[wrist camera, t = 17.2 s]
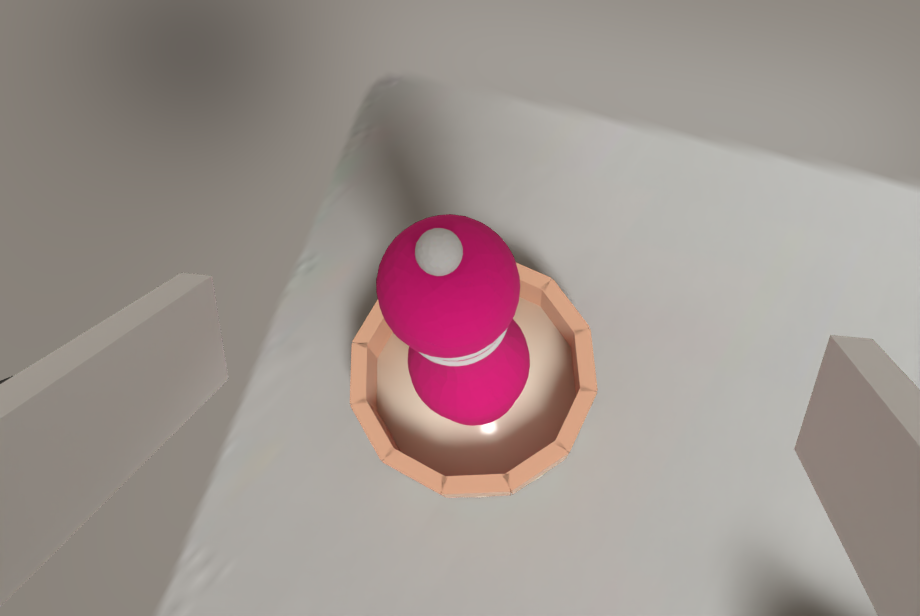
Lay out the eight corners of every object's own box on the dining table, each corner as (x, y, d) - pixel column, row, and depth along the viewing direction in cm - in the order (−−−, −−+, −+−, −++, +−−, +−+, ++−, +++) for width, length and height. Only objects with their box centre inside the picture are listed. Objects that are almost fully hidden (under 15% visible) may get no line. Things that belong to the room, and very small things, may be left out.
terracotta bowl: (634, 414, 40) (646, 401, 36) (437, 545, 38) (428, 546, 34) (506, 243, 45) (505, 216, 41) (328, 351, 43) (310, 334, 39)
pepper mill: (552, 381, 40) (581, 242, 21) (470, 457, 39) (425, 381, 20) (477, 306, 42) (444, 122, 24) (397, 376, 41) (296, 240, 22)
